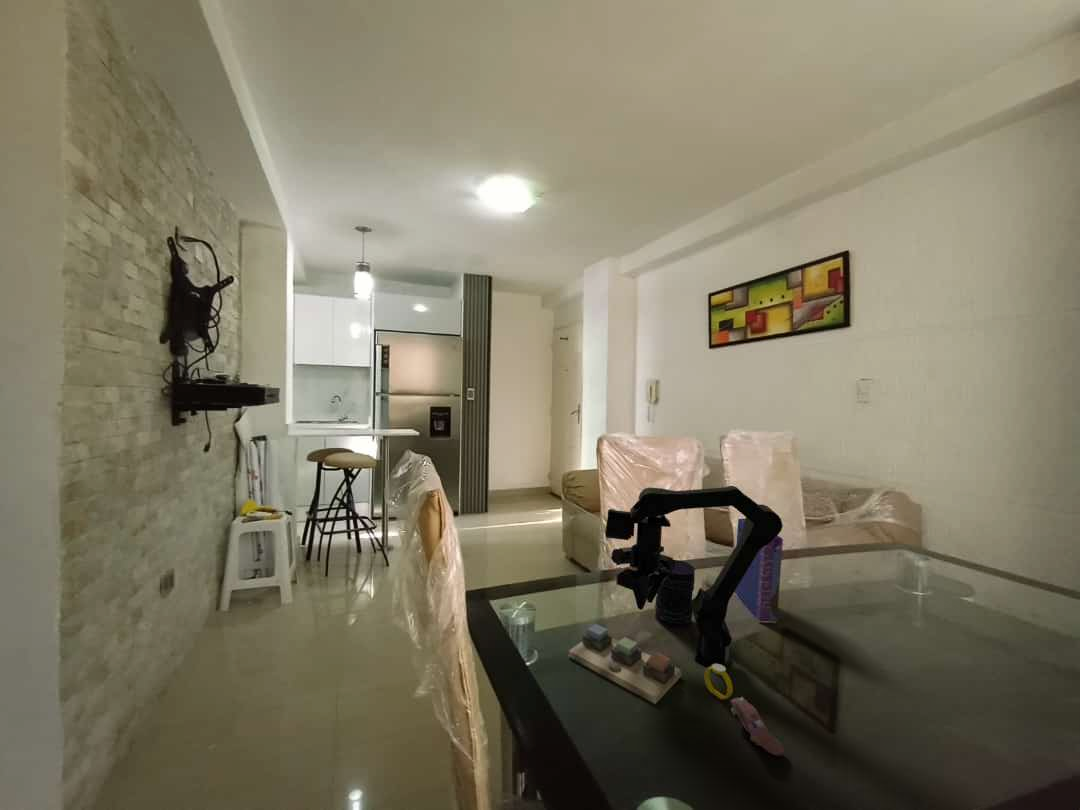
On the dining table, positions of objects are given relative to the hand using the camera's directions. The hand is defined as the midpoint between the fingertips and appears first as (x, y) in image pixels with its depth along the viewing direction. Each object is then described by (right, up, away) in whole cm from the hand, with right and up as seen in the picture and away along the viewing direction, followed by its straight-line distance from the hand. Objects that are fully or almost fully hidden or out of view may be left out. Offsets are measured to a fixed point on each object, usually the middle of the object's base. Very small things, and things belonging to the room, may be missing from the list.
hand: (645, 605), depth 109 cm
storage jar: (+11, -11, +15) cm, 22 cm away
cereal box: (+38, -12, +24) cm, 46 cm away
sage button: (-5, -8, -5) cm, 11 cm away
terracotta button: (+1, -9, -11) cm, 14 cm away
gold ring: (+12, -13, -14) cm, 22 cm away
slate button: (-11, -8, 0) cm, 14 cm away
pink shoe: (+14, -13, -25) cm, 32 cm away
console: (-6, -11, -6) cm, 14 cm away
